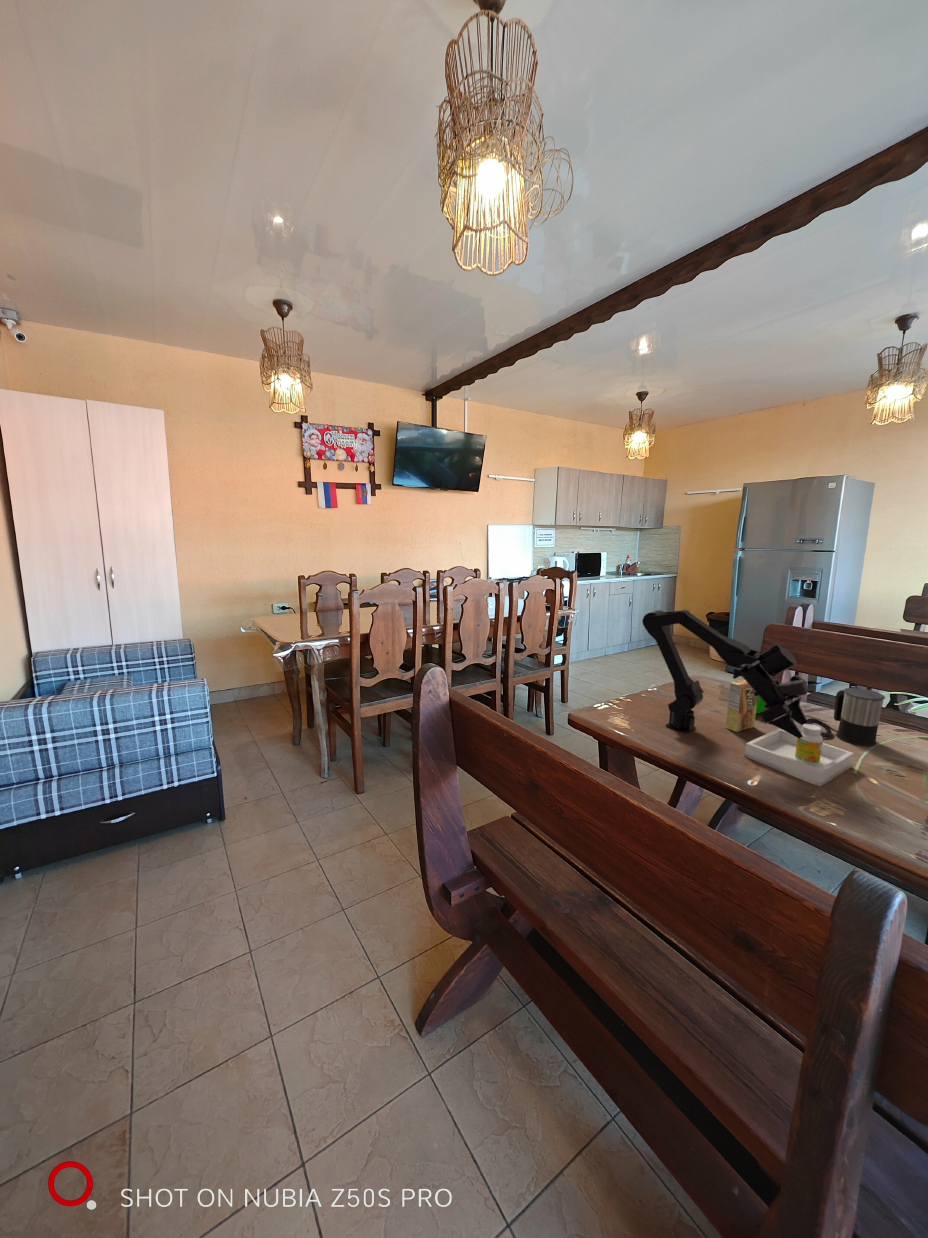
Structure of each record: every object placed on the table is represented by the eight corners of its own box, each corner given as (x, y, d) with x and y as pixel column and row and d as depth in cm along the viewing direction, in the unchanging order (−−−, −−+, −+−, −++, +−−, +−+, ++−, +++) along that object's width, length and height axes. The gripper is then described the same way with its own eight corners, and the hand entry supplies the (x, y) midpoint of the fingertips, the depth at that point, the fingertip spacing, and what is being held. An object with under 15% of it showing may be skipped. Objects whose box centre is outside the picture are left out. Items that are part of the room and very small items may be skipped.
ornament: (747, 706, 162) (750, 679, 160) (772, 713, 156) (775, 686, 154) (735, 711, 158) (738, 684, 156) (760, 719, 151) (764, 690, 149)
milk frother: (885, 745, 133) (894, 697, 130) (840, 751, 130) (848, 702, 127) (837, 725, 146) (844, 681, 144) (796, 729, 143) (802, 685, 141)
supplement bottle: (792, 760, 123) (796, 726, 121) (797, 753, 126) (802, 720, 125) (816, 767, 119) (821, 733, 117) (821, 760, 122) (827, 727, 121)
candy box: (742, 722, 149) (747, 677, 146) (755, 727, 146) (760, 681, 143) (724, 727, 146) (729, 682, 143) (737, 733, 142) (742, 686, 139)
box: (744, 756, 127) (746, 743, 126) (777, 740, 136) (779, 728, 135) (819, 787, 112) (822, 772, 111) (851, 767, 121) (853, 753, 120)
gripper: (781, 676, 116) (829, 729, 111) (796, 660, 129) (839, 708, 124) (742, 697, 123) (786, 748, 118) (760, 680, 136) (800, 726, 131)
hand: (804, 732), depth 122 cm, fingers open, 9 cm apart
